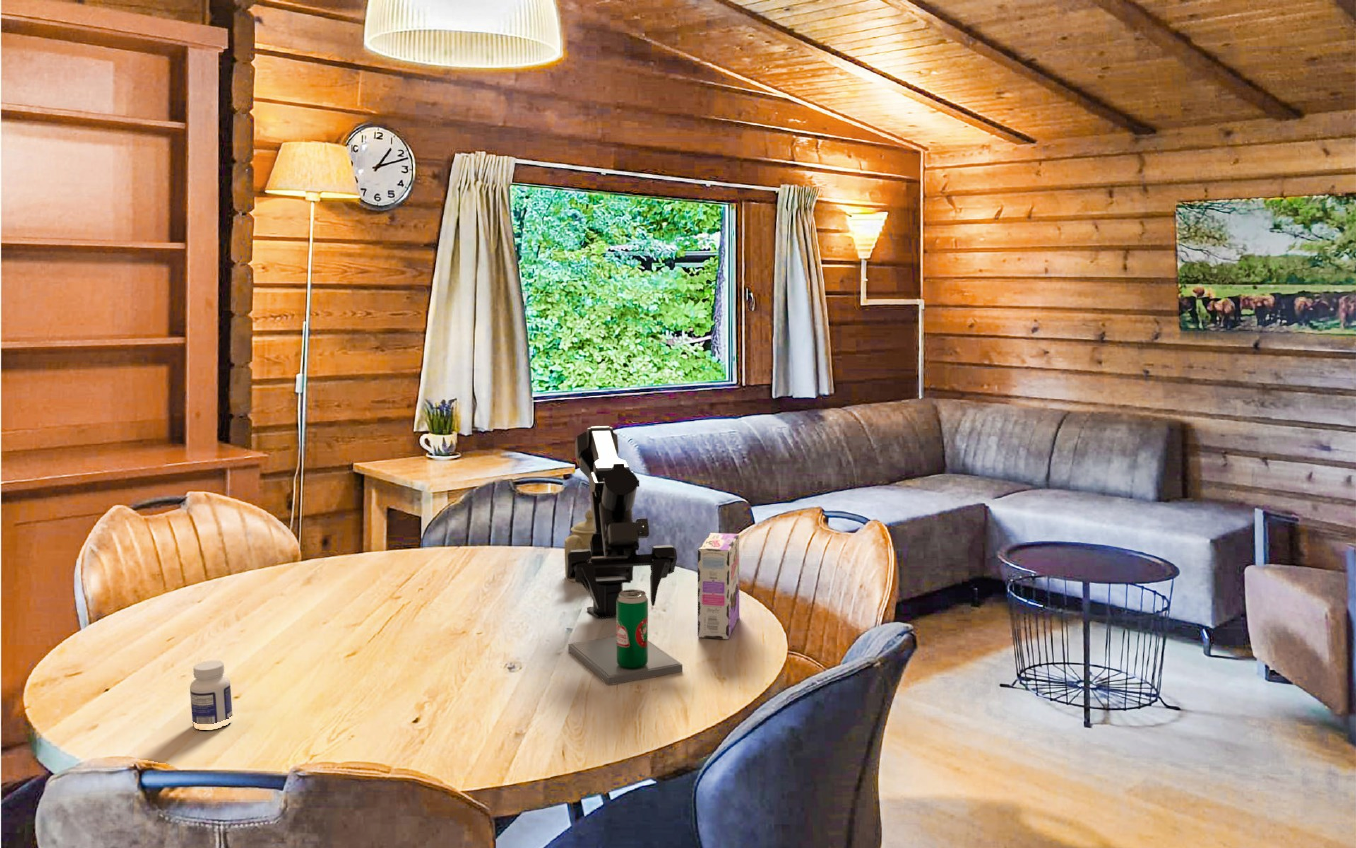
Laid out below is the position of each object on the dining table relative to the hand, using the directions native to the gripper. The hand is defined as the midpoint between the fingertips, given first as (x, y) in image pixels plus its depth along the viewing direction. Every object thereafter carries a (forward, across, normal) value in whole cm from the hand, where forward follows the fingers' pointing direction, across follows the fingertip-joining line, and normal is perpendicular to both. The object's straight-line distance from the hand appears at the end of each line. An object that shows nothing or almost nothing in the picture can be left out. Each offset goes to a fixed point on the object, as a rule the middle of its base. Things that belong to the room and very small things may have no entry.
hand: (626, 606), depth 176 cm
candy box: (-2, +19, +16) cm, 25 cm away
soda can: (+10, 0, +1) cm, 11 cm away
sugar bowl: (-29, -1, +43) cm, 52 cm away
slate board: (+7, -1, +6) cm, 9 cm away
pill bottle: (+17, -62, -5) cm, 65 cm away
